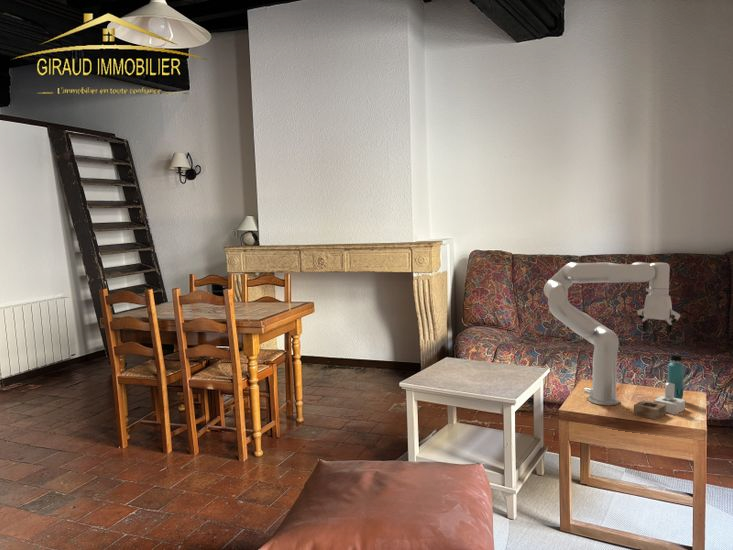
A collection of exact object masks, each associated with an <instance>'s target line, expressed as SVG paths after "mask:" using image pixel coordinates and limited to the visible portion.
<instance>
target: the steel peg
mask: <svg viewBox="0 0 733 550" xmlns="http://www.w3.org/2000/svg"><path fill="white" fill-rule="evenodd" d="M664 385H665V386H664V396H665V401H669V402H674V387H675V384H674V383H671V382H668V381H666V382H665V384H664Z"/></svg>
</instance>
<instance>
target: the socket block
mask: <svg viewBox="0 0 733 550" xmlns="http://www.w3.org/2000/svg"><path fill="white" fill-rule="evenodd" d="M665 414H666V415H667V412H666V405H665V404H660V403H655V402H654V401H649V400H646V399H645V400H644V399H642V400H641V401H639V402H637V403H635V404H633V415H634V416H637V415H638V417H642V416H643V418H646V417H648V418H647V419H652V420H656V421H657V420H659V419H660V418H662V417H664V416H665Z"/></svg>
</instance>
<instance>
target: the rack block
mask: <svg viewBox="0 0 733 550" xmlns="http://www.w3.org/2000/svg"><path fill="white" fill-rule="evenodd" d="M653 402H655V403H660V404H665V405H666V413H667V412H668V413H669V414H672V413H673V414H672V415H678V414H680V413H681V412H683V411H685V410H686V399H683V398H682V399H678V398H674V402H669V401H665V395H661V396H658V397H657V398H655V399H654V400H653ZM684 409H685V410H684ZM679 412H680V413H679ZM668 413H667V414H668Z"/></svg>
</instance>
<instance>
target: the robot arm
mask: <svg viewBox="0 0 733 550" xmlns="http://www.w3.org/2000/svg"><path fill="white" fill-rule="evenodd" d="M670 269H671V268H670V264H669V263H667V262H643V261H635V262H633V263H631V264H627V263H625V264H624V263H623V264H621V263H614V262H607V261H605V262H604V261H603V262H574V261H570V262H569V263H567V264H565V265H564V266H563V267H561V268H560V269H559V270H558V271H557V272H556V273H555V274H554V275H553V276H552V277H551V278H549V280H547V281H546V283H545V284H544V287H543V294H544V296H545V297H546V298H547V304H548V309H549V311H550V313H551V315H553V317H555V318H556V319H557V320H558V321H560V322H561V323H562V324H563V325H565V326H566V327H568V328H569V329H570V330H571V331H572V332H574V333H575V334H577V335H578V336H580V337H581V338H583V340H584V339H585V340H586V341H587V342H589V343H591V345H593V347H594V348H593V349H594V350H593V356H592V385H591V386H592V388H588V387H584V389H583V393H584V394H587V395H589V396H588V397H587V398H588V399H587V400H588V401H589V402H590V403H592V404H594V405H595V404H596V405H600V406H617V405H618V404H620V401H621V400H620V399H619V397H617V371H618V370H617V364H618V363H617V361H618V360H617V359H618V352H619V345H620V342H619V337H618V334H616V333H615V331H613V330H612V329H610V328H608V327H606V326H605V325H604V324H602V323H601V322H599V321H598V320H596V319H595V318H593V317H592V316H590V315H589V314H588V313H585V312H583V311H581V310H580V309H578V308H577V307H575V306H574V305H572V303H570V302H569V300H568V299H569V297H568V296H569V291H568V289H569V288H570V287H572V285H573V284H591V283H592V284H594V283H609V284H610V283H648V284H649V285H648V288H647V287H646V288H645V292H648V294H646V297H645V301H644V307H643V308H641V309H638V310H637V311H636V312H637V315H638V318H640V320H641V321H642V329H643V332H647V331H649V321H648V320H649V319H650V320H651V319H652V320H658V321H665V322H667V324H666V325H667V326H666V328H667V329H666V332H667V333H666V334H667V335H671V334H672V333H673V332H674V325H675V323H676V322H678V320H679V319H680V317H681V314H680V313H678V312H677V311H676V310H675V311H674V310H673V305H672V298H671V295H669V293H670V292H669V291H670ZM673 316H674V318H672V317H673Z"/></svg>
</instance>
